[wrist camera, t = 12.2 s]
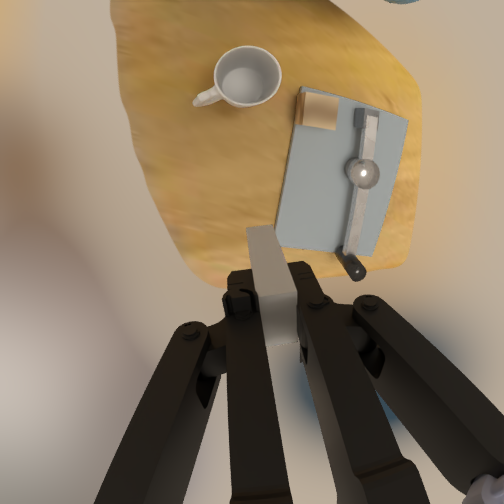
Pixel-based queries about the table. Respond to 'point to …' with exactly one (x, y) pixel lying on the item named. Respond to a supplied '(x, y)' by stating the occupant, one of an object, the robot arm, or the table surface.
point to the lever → (360, 190)
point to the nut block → (316, 110)
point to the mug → (243, 78)
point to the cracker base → (335, 180)
